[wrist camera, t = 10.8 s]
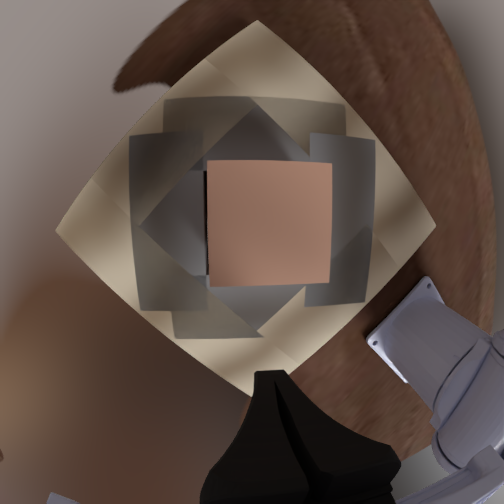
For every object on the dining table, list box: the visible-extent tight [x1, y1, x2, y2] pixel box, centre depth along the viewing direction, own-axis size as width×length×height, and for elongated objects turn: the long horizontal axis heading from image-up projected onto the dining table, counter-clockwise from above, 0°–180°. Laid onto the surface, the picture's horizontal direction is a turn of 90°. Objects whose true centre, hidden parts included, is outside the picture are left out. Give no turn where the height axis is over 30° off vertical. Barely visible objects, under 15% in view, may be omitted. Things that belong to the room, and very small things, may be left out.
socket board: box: [55, 20, 436, 397], centre depth 18 cm, size 19×19×2 cm
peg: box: [207, 160, 332, 287], centre depth 15 cm, size 5×5×8 cm
